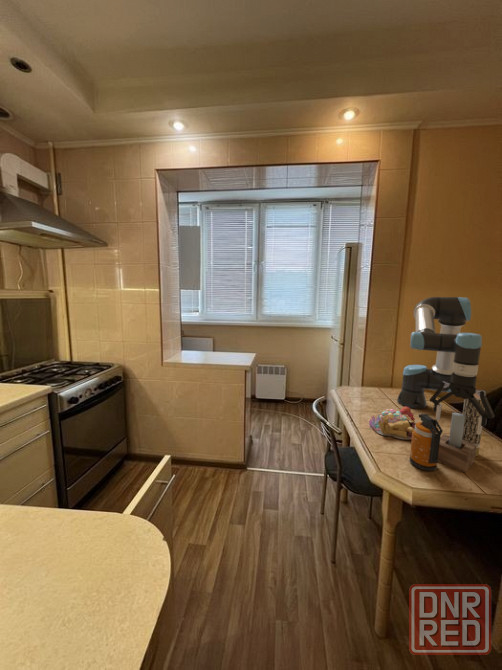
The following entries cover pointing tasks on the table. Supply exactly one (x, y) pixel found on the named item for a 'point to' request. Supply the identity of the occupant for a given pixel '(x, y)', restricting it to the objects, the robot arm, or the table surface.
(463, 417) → the dowel
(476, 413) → the bark covered log
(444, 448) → the hollow walnut box
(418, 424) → the canister
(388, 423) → the candy landscape model
